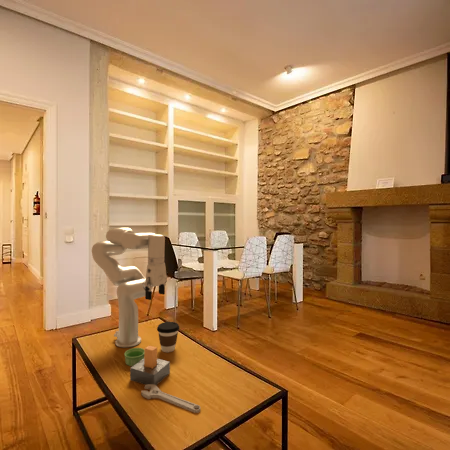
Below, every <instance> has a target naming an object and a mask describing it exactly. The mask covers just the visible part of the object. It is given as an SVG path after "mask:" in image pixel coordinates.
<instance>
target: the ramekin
mask: <svg viewBox="0 0 450 450" xmlns="http://www.w3.org/2000/svg"><path fill="white" fill-rule="evenodd" d="M144 349H145V348H142V347H133V348H132V347H131V348H129V349H127V350H125V352H124V355H123V356H124V360H125V365H127V366H129V367H132V366H134V365H135V364H137V363H138V362H140V361H141V360H142V359H144Z"/></svg>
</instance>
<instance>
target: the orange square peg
mask: <svg viewBox="0 0 450 450" xmlns="http://www.w3.org/2000/svg"><path fill="white" fill-rule="evenodd" d="M143 349H144V367H148V368H152V369H153V368H154V367H155V366H157V359H158V347H157V346H153V345H147V346H146V347H144V348H143Z"/></svg>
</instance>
